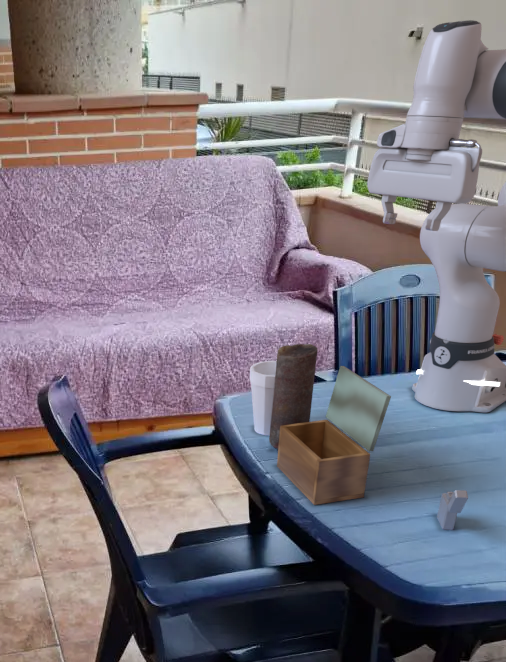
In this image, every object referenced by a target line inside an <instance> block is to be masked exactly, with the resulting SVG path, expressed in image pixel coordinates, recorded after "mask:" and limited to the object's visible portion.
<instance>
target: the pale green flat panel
mask: <svg viewBox="0 0 506 662" xmlns="http://www.w3.org/2000/svg"><path fill="white" fill-rule="evenodd" d="M391 398H392V395H390V394H388V393H387V392H385V391H384V390H382V389H381V388H379V387H378V386H376V385H375V384H373V383H371V382H370V381H368V380H366V379H365V378H364V377H362V376H360V374H359V375H358V374H357V373H355V372H354V371H352V370H351V369H350V368H348V367H346V366H345V365H340V366H339V369H338V373H337V375H336V378H335V383H334V386H333V390H332V393H331V396H330V400H329V402H328V403H329V404H328V408H327V411H326V414H325V418H326V419H327V420H328V421H330V422H331V423H332V424H333V425H335V426H336V427H337V428H338V429H340V430H341V431H342V432H343V433H345V434H346V435H347V436H348V437H350V438H351V439H352V440H353V441H355V442H356V443H357V444H358V445H360V446H361V447H362V448H363V449H365V450H366V451H367V452H372V453H373V452H374V450H375V447H376V445H377V441H378V439H379V436H380V432H381V429H382V425H383V423H384V421H385V417H386V414H387V411H388V408H389V404H390V401H391Z"/></svg>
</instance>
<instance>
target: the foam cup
mask: <svg viewBox="0 0 506 662" xmlns="http://www.w3.org/2000/svg"><path fill="white" fill-rule="evenodd" d="M276 362H277V360H265V361H259V362H256V363H253V364H252V365H251V366H250V368H249V382H250V390H251V401H252V403H251V404H252V416H253V417H252V418H253V428H254V432H256V433H257V434H259V435H263V436H268V437H270V425H271V416H272V405H273V396H274V384H275V373H276Z"/></svg>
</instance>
